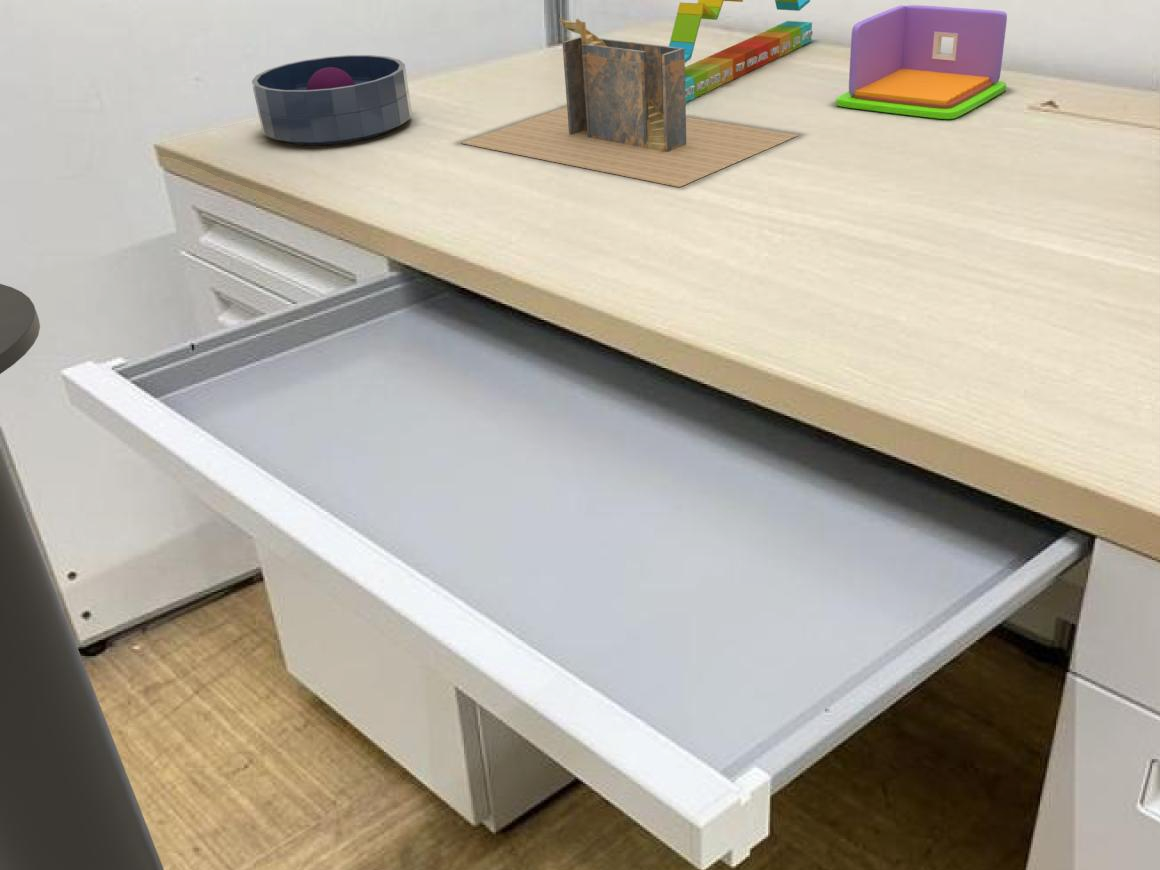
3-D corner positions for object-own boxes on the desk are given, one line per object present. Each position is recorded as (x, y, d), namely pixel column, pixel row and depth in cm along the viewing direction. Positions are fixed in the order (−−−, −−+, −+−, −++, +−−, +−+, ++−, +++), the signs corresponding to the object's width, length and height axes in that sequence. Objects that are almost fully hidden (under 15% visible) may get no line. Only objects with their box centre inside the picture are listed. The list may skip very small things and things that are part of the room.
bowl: (275, 158, 110) (263, 99, 107) (255, 122, 121) (243, 68, 118) (427, 133, 114) (419, 76, 111) (394, 101, 125) (386, 48, 122)
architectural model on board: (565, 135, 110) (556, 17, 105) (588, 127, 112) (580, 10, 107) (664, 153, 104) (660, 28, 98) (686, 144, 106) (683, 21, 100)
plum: (316, 131, 115) (305, 76, 112) (308, 119, 118) (297, 66, 116) (367, 123, 116) (358, 68, 113) (357, 112, 120) (348, 59, 117)
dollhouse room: (892, 77, 120) (897, 0, 116) (1010, 89, 114) (1020, 8, 110) (830, 106, 113) (834, 25, 109) (953, 121, 106) (961, 35, 102)
